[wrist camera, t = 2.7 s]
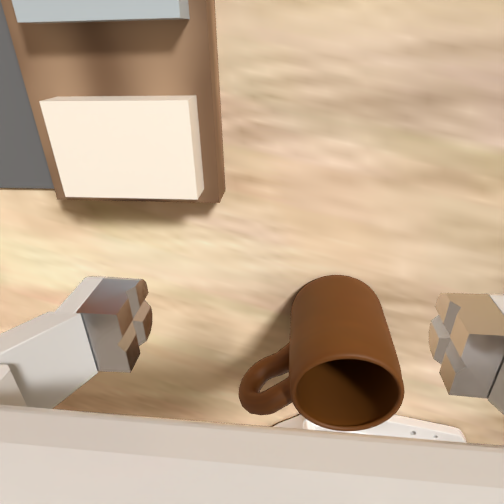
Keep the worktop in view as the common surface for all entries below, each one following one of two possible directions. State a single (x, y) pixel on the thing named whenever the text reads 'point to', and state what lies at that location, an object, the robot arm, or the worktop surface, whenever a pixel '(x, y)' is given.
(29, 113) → the mat
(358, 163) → the worktop surface
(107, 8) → the light gray block
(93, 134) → the ivory block
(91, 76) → the brown wooden flat board
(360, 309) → the mug
